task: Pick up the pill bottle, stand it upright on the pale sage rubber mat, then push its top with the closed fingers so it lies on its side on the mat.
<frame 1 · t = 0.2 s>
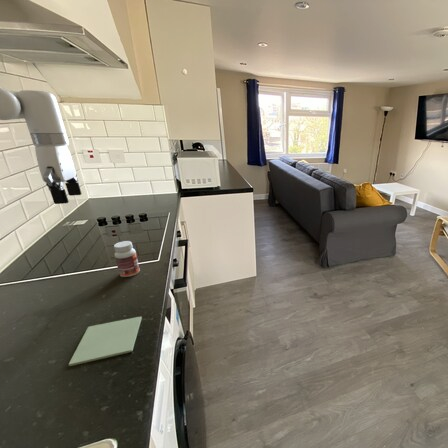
hand: (69, 199, 79), 28 cm above the table, tool pointing down, fingers open, 9 cm apart
mat: (109, 339, 64), on the table
pill bottle: (130, 273, 92), on the table
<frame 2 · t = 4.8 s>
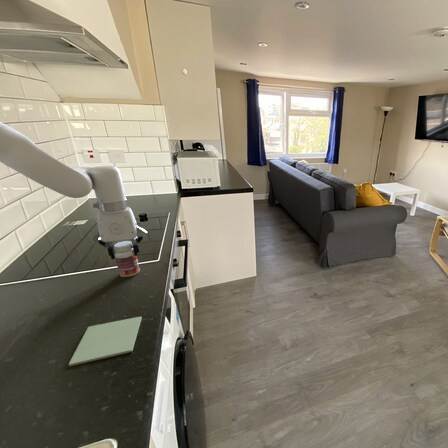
hand: (125, 255, 90), 7 cm above the table, tool pointing down, fingers closed on pill bottle, 6 cm apart
pill bottle: (130, 273, 92), on the table, touching gripper
when the fingers open (8 cm above the table, at t = 12.7 s): pill bottle stays where it is, resting on mat.
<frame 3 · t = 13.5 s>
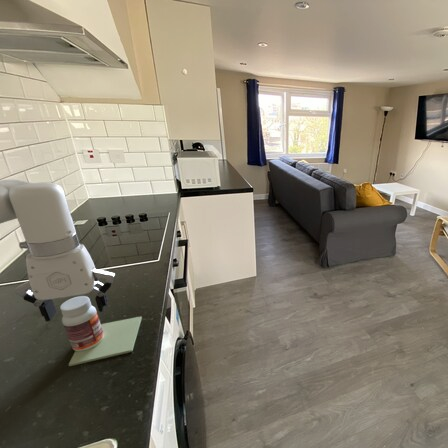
hand: (78, 312, 59), 9 cm above the table, tool pointing down, fingers open, 9 cm apart
pill bottle: (89, 342, 62), resting on mat
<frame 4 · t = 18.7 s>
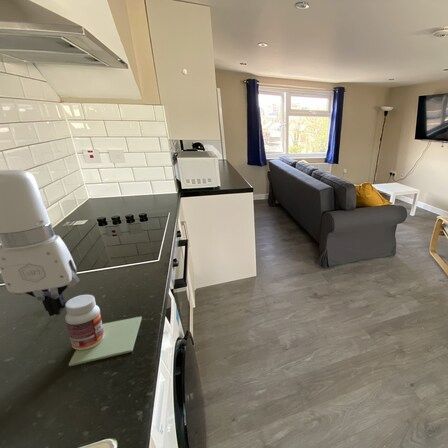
hand: (58, 311, 58), 11 cm above the table, tool pointing down, fingers closed
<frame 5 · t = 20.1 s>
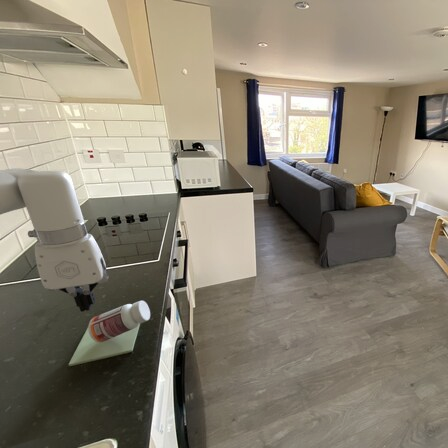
hand: (87, 307, 60), 10 cm above the table, tool pointing down, fingers closed
pill bottle: (95, 330, 62), point 3 cm above the table, touching mat
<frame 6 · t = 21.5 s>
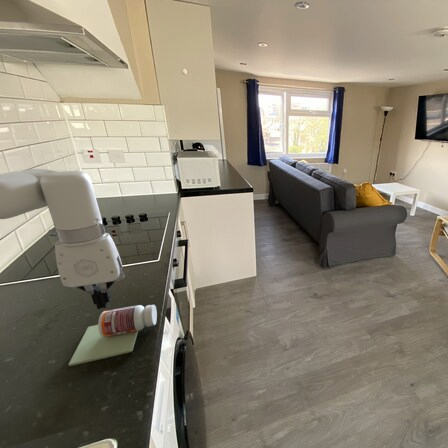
hand: (104, 304, 61), 10 cm above the table, tool pointing down, fingers closed
pill bottle: (101, 324, 64), point 4 cm above the table, touching mat
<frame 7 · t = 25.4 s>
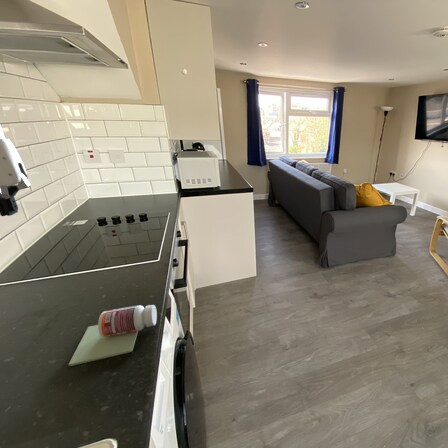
hand: (9, 214, 62), 29 cm above the table, tool pointing down, fingers closed
nothing on the table moved.
at the end: pill bottle tilted 90°; pill bottle inside the target area on the mat (2.3 cm from its centre), point 3.7 cm above the mat's base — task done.
